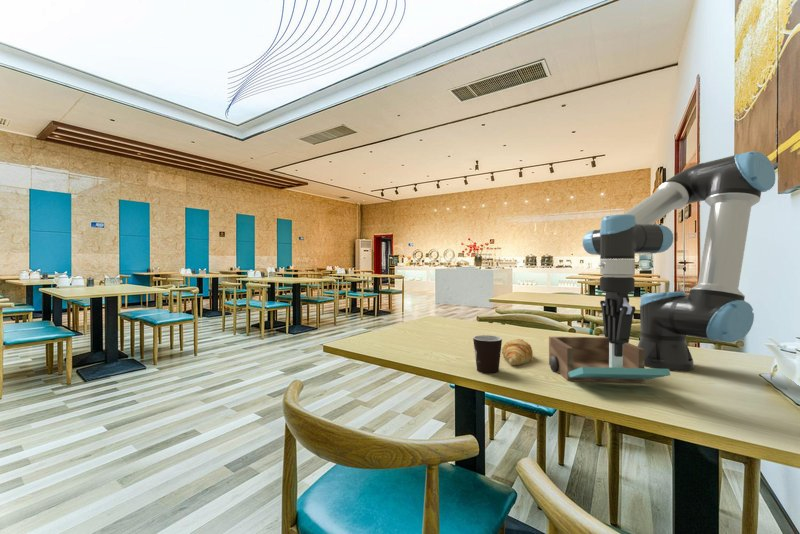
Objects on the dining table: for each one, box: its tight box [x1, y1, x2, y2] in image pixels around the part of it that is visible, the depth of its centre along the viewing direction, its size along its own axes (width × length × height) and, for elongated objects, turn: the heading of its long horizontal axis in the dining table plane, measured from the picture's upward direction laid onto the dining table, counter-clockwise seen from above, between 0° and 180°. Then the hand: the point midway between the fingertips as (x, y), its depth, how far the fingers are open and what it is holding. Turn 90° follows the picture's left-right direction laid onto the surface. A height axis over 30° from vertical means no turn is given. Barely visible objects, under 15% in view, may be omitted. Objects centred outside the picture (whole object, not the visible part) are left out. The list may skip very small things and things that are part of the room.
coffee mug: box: [472, 334, 503, 375], centre depth 107 cm, size 12×9×10 cm
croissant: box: [501, 338, 533, 366], centre depth 119 cm, size 21×10×8 cm, turn 155°
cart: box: [548, 336, 646, 384], centre depth 103 cm, size 23×16×9 cm
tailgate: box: [568, 367, 671, 380], centre depth 90 cm, size 20×2×11 cm
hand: (615, 367), depth 89 cm, fingers closed
